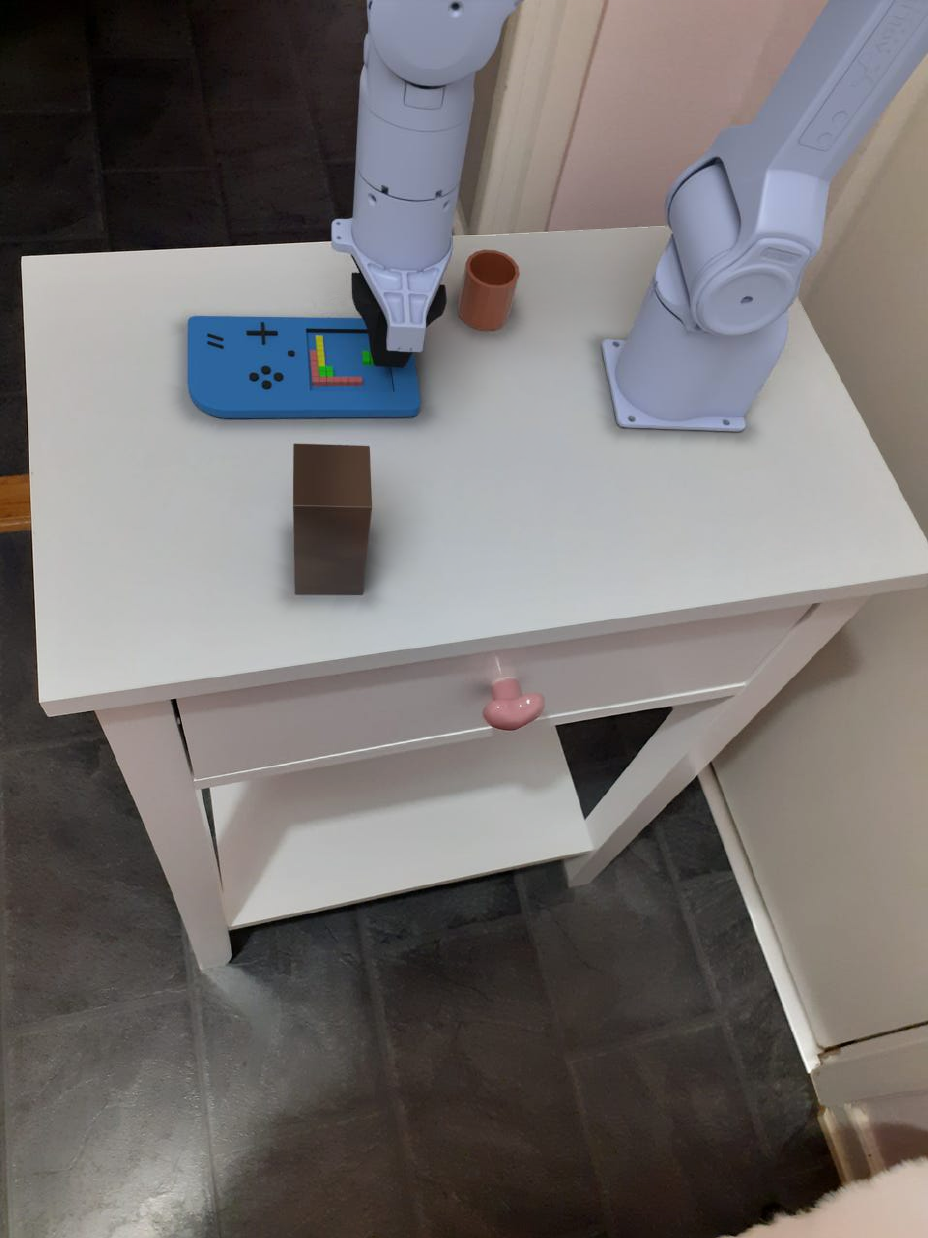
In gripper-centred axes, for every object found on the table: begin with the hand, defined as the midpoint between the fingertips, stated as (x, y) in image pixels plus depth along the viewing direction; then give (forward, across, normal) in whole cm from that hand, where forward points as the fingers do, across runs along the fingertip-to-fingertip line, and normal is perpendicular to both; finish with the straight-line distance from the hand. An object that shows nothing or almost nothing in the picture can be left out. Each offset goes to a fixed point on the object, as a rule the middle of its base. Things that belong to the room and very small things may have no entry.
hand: (388, 350), depth 61 cm
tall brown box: (+2, +15, -4) cm, 16 cm away
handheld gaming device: (+2, 0, -6) cm, 6 cm away
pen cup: (+2, -7, +7) cm, 10 cm away
